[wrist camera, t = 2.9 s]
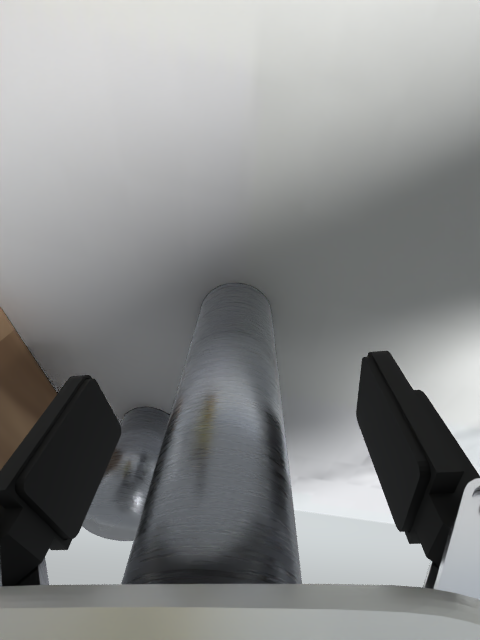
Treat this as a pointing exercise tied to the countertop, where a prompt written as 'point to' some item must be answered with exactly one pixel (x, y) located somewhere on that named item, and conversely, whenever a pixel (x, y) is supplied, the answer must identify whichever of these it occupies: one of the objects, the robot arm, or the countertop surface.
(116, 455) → the short pin
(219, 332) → the long pin
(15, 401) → the hole block
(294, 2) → the countertop surface
